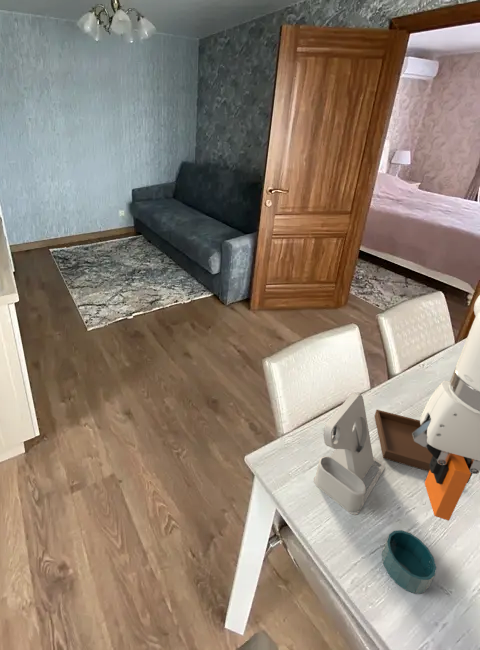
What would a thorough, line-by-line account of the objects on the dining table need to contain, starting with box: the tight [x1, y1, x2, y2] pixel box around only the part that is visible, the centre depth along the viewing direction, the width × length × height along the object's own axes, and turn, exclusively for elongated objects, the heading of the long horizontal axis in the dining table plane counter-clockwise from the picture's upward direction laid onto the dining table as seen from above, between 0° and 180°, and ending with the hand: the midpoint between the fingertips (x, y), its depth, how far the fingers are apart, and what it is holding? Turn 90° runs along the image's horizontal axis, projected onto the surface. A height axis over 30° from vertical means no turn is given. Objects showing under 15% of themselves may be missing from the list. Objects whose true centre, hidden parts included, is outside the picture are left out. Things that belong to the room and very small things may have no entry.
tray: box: [374, 409, 433, 472], centre depth 88 cm, size 13×13×2 cm
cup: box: [381, 529, 437, 595], centre depth 63 cm, size 7×7×5 cm
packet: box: [424, 453, 472, 522], centre depth 55 cm, size 2×6×11 cm, turn 161°
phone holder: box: [313, 392, 385, 516], centre depth 77 cm, size 17×10×18 cm, turn 132°
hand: (446, 477), depth 55 cm, fingers closed on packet, 2 cm apart
